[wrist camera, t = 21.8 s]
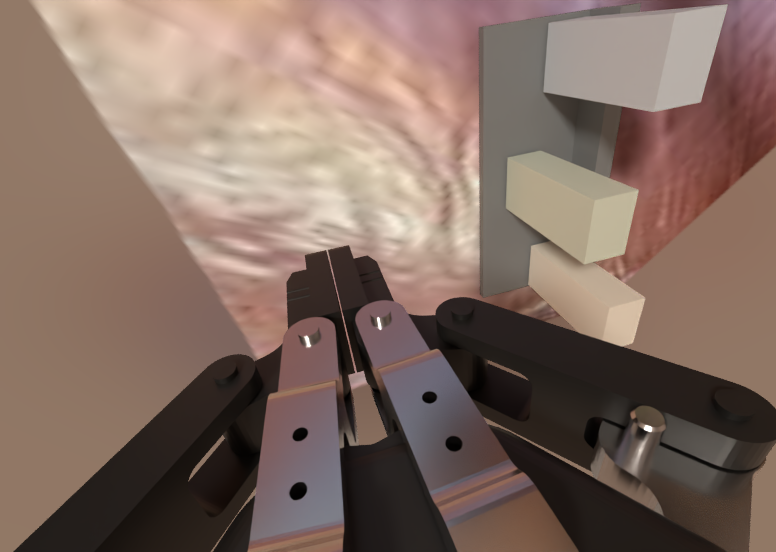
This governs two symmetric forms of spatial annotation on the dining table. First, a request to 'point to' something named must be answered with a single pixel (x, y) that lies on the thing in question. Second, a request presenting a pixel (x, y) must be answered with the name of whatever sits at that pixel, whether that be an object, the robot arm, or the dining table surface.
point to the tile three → (634, 57)
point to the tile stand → (529, 136)
